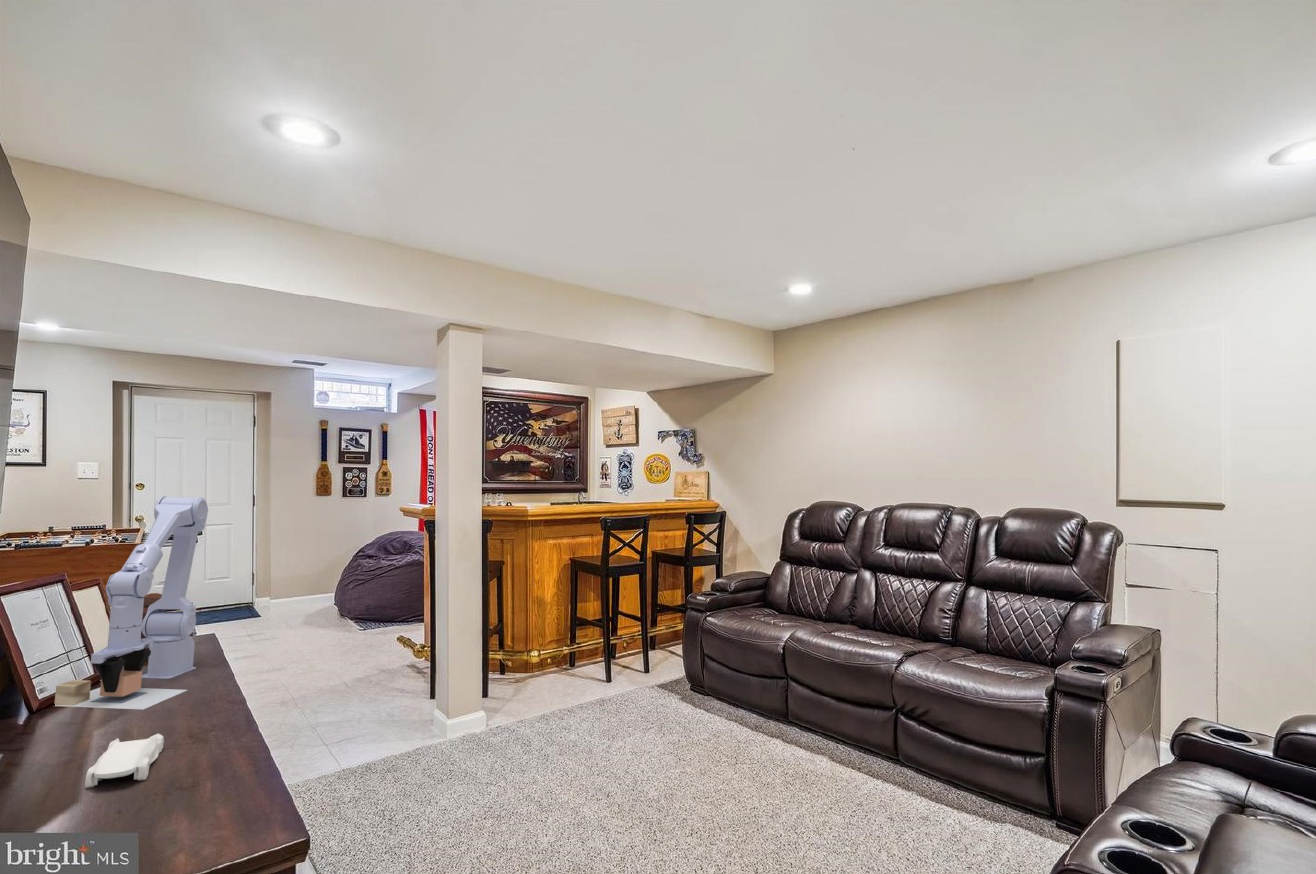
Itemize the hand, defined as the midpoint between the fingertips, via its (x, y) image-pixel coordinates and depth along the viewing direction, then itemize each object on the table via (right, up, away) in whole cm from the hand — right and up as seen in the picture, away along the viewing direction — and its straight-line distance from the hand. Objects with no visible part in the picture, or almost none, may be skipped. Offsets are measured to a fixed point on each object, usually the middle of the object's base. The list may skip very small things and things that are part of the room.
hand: (120, 688), depth 147 cm
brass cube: (-7, -2, -4) cm, 8 cm away
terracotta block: (0, -1, 0) cm, 1 cm away
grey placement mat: (0, -3, 0) cm, 3 cm away
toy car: (+28, -2, -33) cm, 43 cm away
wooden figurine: (-15, -4, +28) cm, 32 cm away
